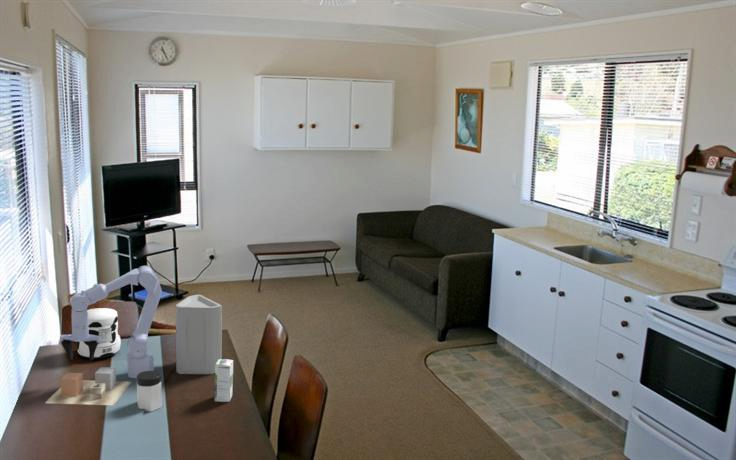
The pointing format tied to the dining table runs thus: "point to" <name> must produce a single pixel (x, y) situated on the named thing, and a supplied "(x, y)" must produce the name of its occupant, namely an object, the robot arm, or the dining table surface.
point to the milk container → (102, 333)
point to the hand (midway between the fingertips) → (81, 359)
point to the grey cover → (106, 377)
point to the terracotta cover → (71, 384)
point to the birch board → (85, 398)
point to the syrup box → (223, 380)
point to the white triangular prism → (198, 335)
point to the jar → (149, 390)
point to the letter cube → (97, 390)
